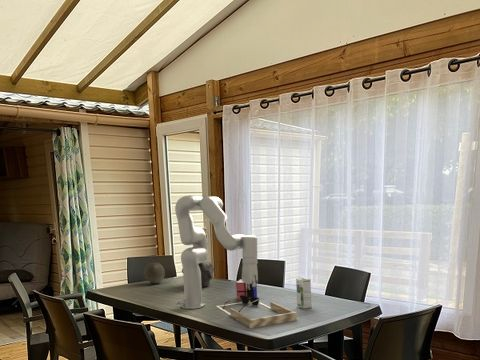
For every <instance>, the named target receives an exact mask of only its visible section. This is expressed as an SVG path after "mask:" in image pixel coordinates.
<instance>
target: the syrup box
mask: <svg viewBox="0 0 480 360" xmlns="http://www.w3.org/2000/svg"><path fill="white" fill-rule="evenodd" d="M295 280H296V281H295V282H296V283H295V285H296V306H297V307H298V308H301V309H302V310H303V309H309V308H312V287H311V286H312V284H311V278H307V277H296V278H295Z"/></svg>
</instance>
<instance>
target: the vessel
mask: <svg viewBox="0 0 480 360" xmlns="http://www.w3.org/2000/svg"><path fill="white" fill-rule="evenodd" d="M198 265H199V268H200V271H201V288H203V287H207V286H209V285H210V284H211V283H210V282H211V280H212V279H214V274H213V273H214V271H215V267H214V266H213V263H212V261H210V260H209V259H207V260H206V261H205V262H203V263H199V264H198ZM181 272H182V274H183V267H182V269H181Z"/></svg>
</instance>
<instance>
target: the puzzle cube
mask: <svg viewBox="0 0 480 360" xmlns="http://www.w3.org/2000/svg"><path fill="white" fill-rule="evenodd" d="M257 284H258V283H257ZM257 284H256V287H254V297H257V298H258V288H257V286H258V285H257ZM235 286H236V288H235V289H236V297H238V296H240V295H245V296H247V288H246V284H245V283H244V282H243V281H242V278H241V279H239V280H238V281H237V282H236V284H235ZM236 300H237V301H242V300H241V298H240V297H238V298H236Z"/></svg>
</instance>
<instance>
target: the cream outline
mask: <svg viewBox="0 0 480 360" xmlns="http://www.w3.org/2000/svg"><path fill="white" fill-rule="evenodd" d="M248 303H251V302H250V300H249V302H248ZM238 304H243V303H242V301H240V302H235V303H226V304H223V305H221V304H220V305H216V306H215V307H216V308H217V309H219V310H221V311H222V312H223V313H225V314H227V315H228V316H230V311H227V310H226V309H225V308H224V309H223V308H222V307H224V305H225V307H227V306H232V305H238ZM258 305H262V306H263V307H266V308H268V309H270V310H272V309H271V307H270V306H268V305H267V304H265V303H264V302H263V303H262V302H261V301H259V303H258Z"/></svg>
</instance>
